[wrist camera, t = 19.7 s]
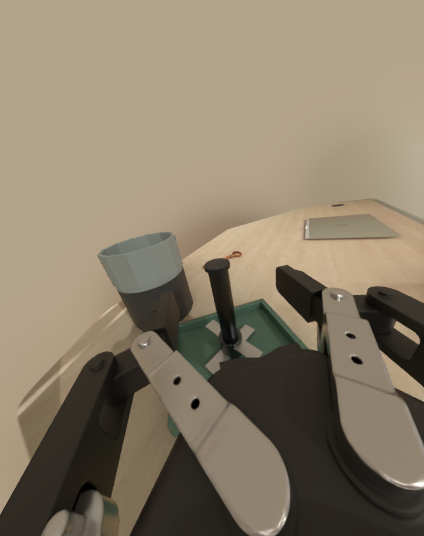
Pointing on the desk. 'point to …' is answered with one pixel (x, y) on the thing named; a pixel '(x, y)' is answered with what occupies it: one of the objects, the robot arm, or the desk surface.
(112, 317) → the desk surface
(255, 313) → the tray
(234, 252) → the key
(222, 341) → the blade
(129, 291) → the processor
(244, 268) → the desk surface
